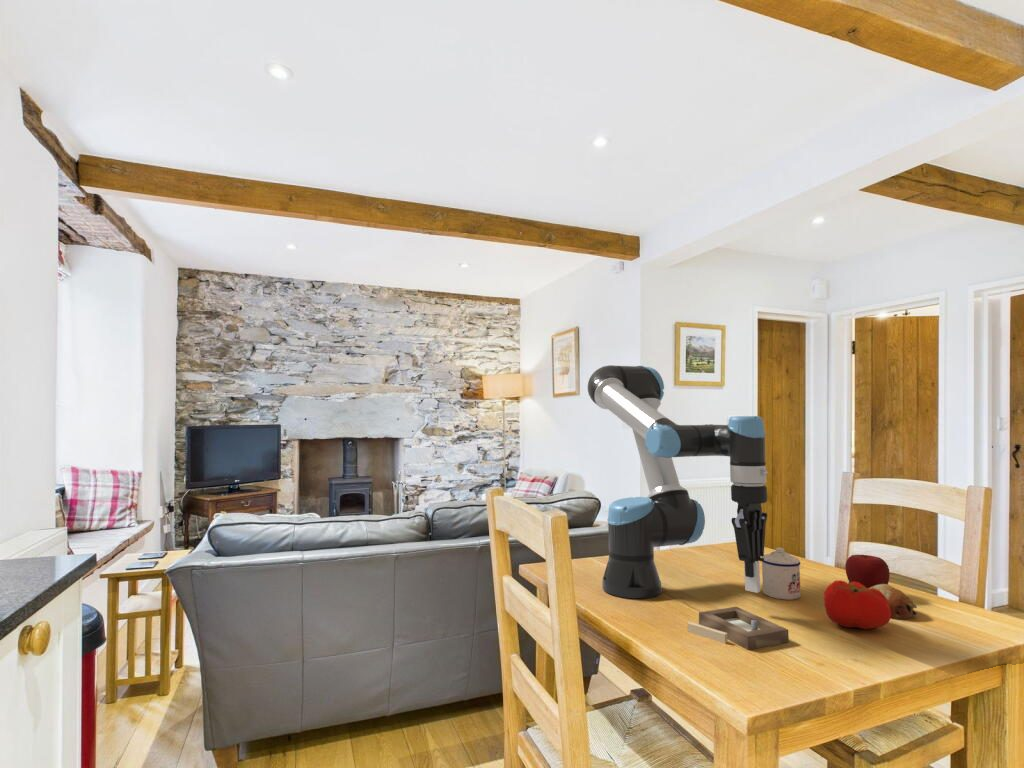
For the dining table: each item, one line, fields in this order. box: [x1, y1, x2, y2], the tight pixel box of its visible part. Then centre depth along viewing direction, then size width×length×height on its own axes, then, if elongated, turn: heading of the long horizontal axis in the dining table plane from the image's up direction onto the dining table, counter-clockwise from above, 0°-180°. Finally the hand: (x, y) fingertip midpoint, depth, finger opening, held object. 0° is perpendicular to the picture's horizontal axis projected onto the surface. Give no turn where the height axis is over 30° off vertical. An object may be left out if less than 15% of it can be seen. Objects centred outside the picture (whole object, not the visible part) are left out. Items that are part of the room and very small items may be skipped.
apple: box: [845, 554, 890, 588], centre depth 142 cm, size 10×10×10 cm
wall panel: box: [686, 620, 758, 644], centre depth 114 cm, size 22×16×5 cm
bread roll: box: [869, 584, 918, 620], centre depth 129 cm, size 10×10×8 cm
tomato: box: [823, 579, 892, 630], centre depth 121 cm, size 14×13×9 cm
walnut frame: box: [698, 606, 790, 651], centre depth 113 cm, size 14×10×2 cm
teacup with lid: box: [761, 547, 801, 601], centre depth 143 cm, size 12×9×12 cm
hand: (752, 590), depth 124 cm, fingers closed
